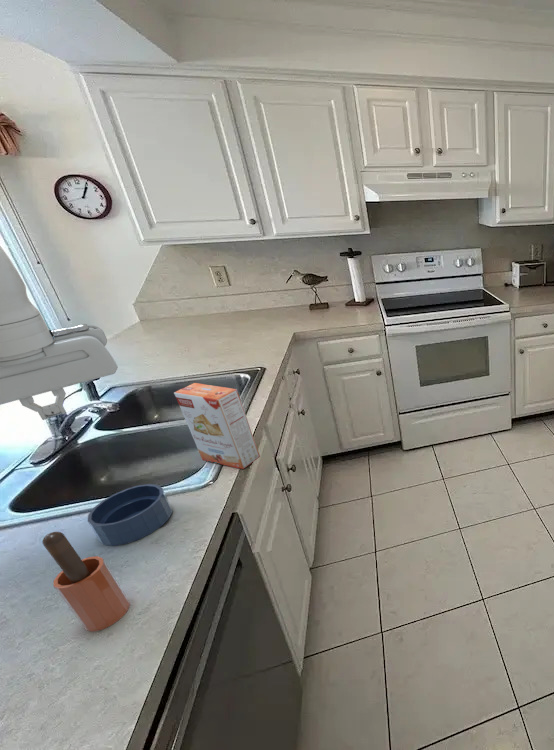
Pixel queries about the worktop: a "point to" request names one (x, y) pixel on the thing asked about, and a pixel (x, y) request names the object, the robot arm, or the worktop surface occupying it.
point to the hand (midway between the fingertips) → (54, 415)
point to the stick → (65, 556)
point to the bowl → (130, 514)
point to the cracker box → (218, 424)
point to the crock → (94, 596)
